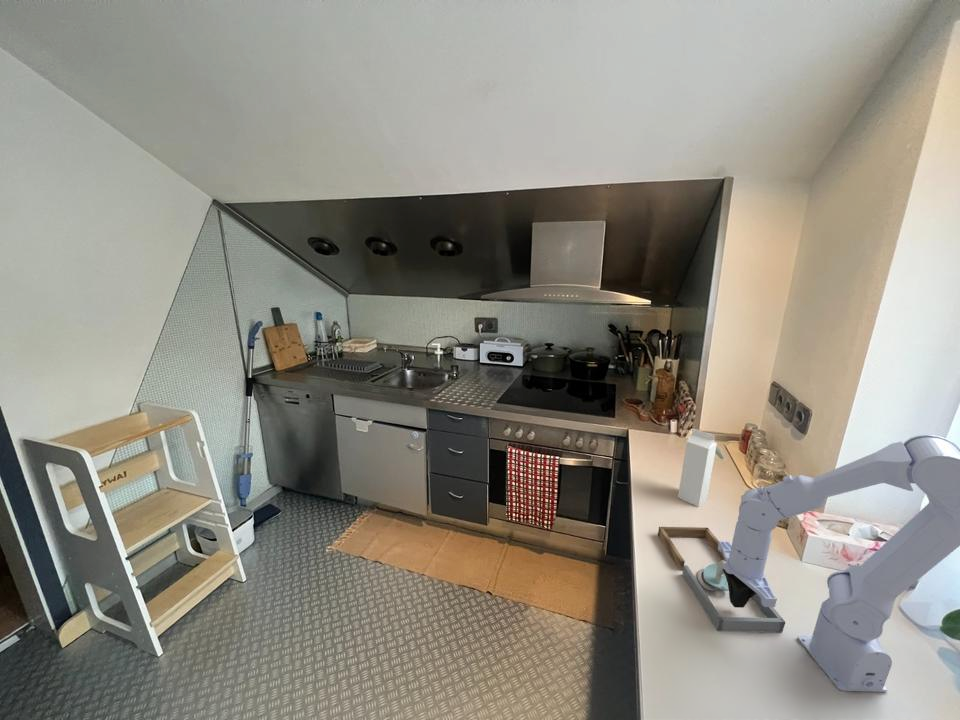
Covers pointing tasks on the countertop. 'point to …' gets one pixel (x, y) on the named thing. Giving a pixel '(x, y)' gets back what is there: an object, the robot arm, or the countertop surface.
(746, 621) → the grey bin
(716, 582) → the pacifier
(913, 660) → the countertop surface
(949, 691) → the countertop surface
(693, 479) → the milk
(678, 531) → the walnut bin
